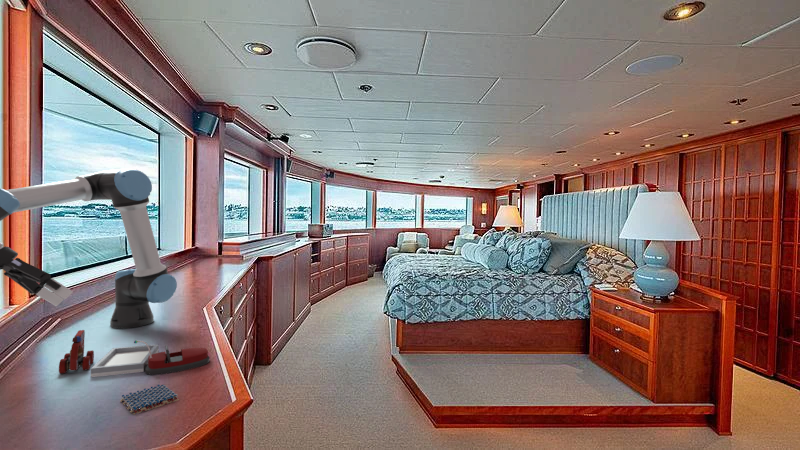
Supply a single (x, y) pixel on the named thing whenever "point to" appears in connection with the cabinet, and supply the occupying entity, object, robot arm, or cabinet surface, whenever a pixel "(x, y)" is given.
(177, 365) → the bumper car
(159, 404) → the woven mat
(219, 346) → the cabinet surface
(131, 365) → the tray
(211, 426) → the cabinet surface
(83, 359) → the toy fire truck
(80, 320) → the cabinet surface
